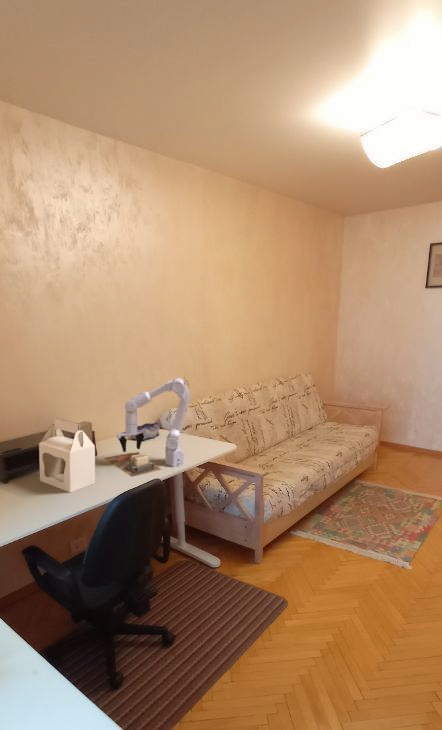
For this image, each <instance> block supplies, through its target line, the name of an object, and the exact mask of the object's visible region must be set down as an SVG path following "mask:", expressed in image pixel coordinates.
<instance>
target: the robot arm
mask: <svg viewBox="0 0 442 730" xmlns="http://www.w3.org/2000/svg"><path fill="white" fill-rule="evenodd" d="M172 391H173V393H174V394H176V395H177V396H178V397H179V403H178V406H177V409H176V413H175V416H174V420H173V423H172V427H171V429H170V432H169V433H168V434H167V436H166V442H165V448H164V449H165V453H164V456H165V459H164V460H165V461H164V462H165V465H167V466H170V467H171V468H175V467H180V466H184V453H183V451H182V450H181V446H180V444H179V443H180V442H179V440H180V433H181V431H182V427H183V423H184V420H185V418H186V417H185V416H186V413H187V410H188V406H189V403H190V400H191V396H190V392H189V388H188V384H187V382H186V381H185V380H184V379H183V378H181V377H176V378H174V379H171V380H169V381H166V382H164V383H163V384H160V385H159V386H158V387H156V388H154V389H152V390H151V391H141V392H140V394H138V395H136V396H132V397H131V398H130V399H128V400H127V401H126V403H124V409H125V431H123V432H120V433H116V438H117V439H118V441H119V443H120V445H121V448H122V452H123V453H127V452H126V451H127V440H128V439H127V437H131V436H135V435H136V449H137V450H140V448H141V446H142V442H143V441H144V440H143V439H144V435H143V434H145V430H137V426H138V412H137V411H138V409H140V408H142V407H143V406H145V405H147V404H149V403H151V402H152V399H154V397H157V396H159V395H161V394H163V393H164V392H170V393H171V392H172Z"/></svg>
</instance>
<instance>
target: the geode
mask: <svg viewBox="0 0 442 730" xmlns="http://www.w3.org/2000/svg"><path fill="white" fill-rule="evenodd" d="M137 430H145V434H143V435H144V439H143V440H142V441H146V440H147V439H155V438H156V437H157V436H160V426H159V423H158V422H154V423H151V422H149V423H148V422H147V423H144V424H142V425H137ZM130 438H131V440H136V435H135V436H130Z"/></svg>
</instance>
